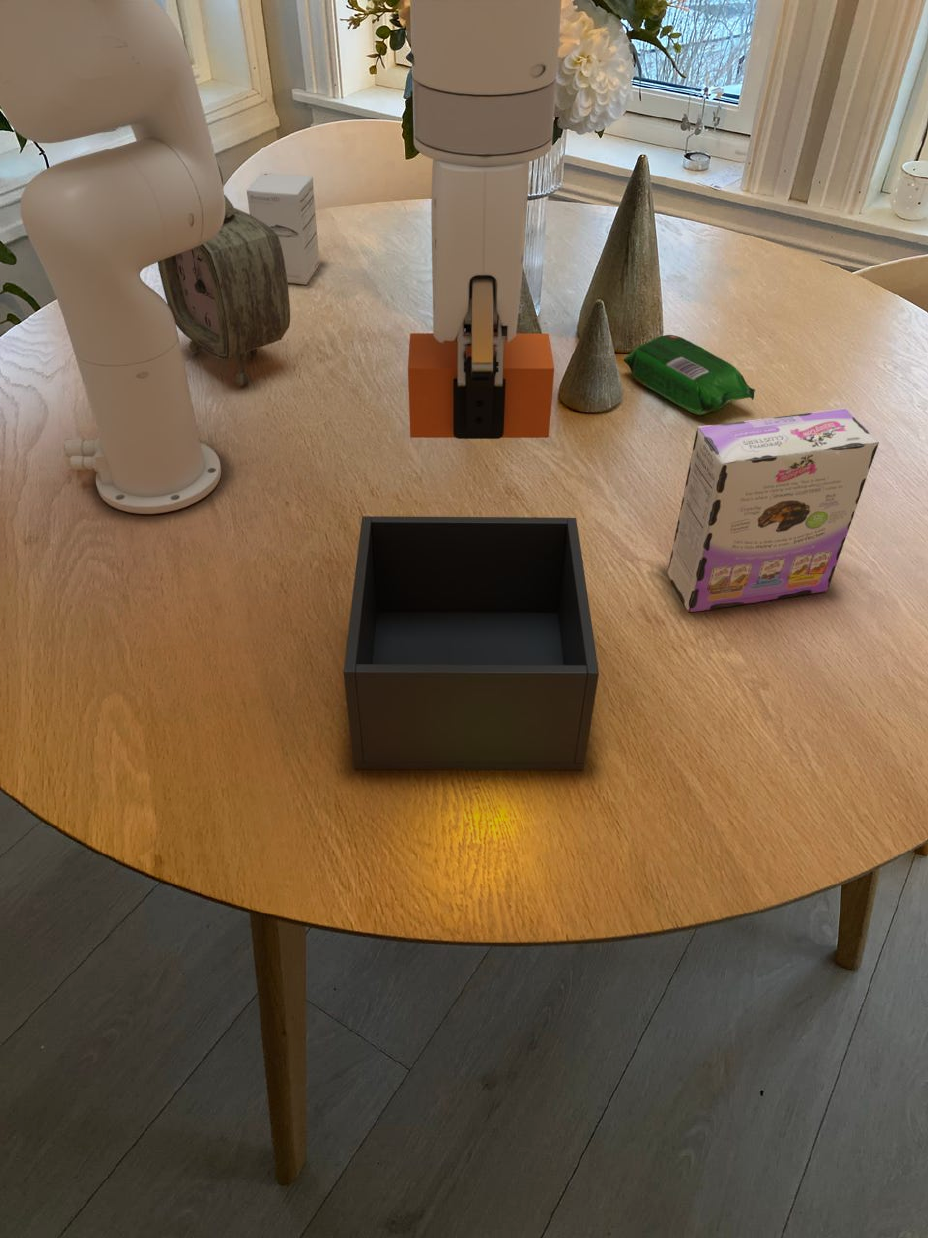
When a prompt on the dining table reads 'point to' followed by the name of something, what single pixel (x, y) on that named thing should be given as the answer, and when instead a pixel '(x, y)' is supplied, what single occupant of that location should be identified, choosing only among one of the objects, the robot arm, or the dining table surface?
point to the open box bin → (470, 645)
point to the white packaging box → (289, 220)
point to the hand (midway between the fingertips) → (477, 411)
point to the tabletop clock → (230, 290)
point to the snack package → (687, 374)
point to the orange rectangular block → (522, 371)
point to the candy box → (768, 507)
